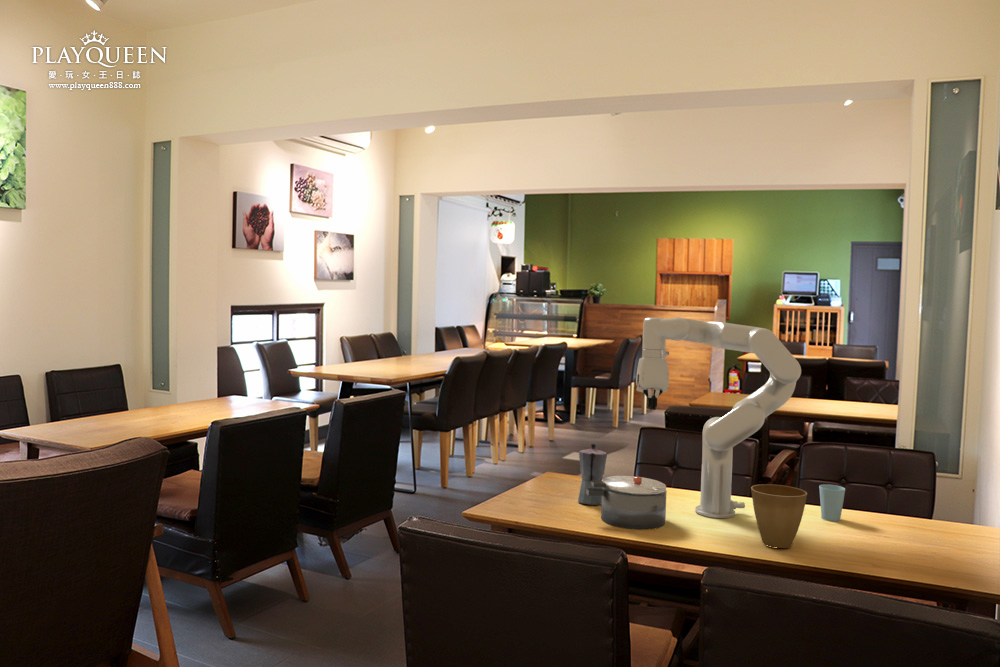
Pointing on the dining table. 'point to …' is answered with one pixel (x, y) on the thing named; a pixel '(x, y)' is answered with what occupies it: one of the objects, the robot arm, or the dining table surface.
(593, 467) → the moka pot
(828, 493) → the cup
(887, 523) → the dining table surface
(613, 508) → the cooker pot
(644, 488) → the cooker lid
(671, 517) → the dining table surface
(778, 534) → the plant pot
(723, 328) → the robot arm
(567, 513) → the dining table surface
